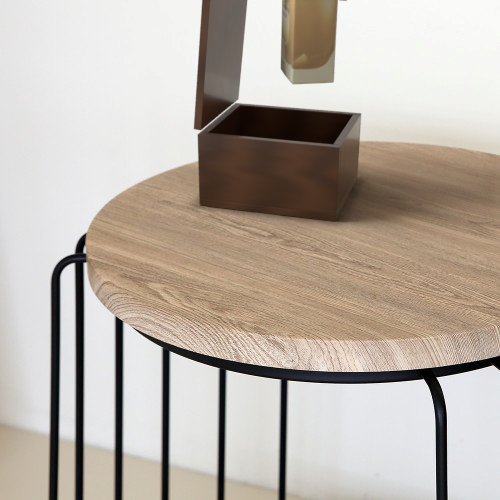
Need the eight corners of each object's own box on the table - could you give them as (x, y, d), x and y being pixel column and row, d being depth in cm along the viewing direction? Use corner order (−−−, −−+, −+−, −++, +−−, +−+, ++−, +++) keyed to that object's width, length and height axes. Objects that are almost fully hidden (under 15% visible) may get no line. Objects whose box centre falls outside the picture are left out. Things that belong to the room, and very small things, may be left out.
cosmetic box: (279, 70, 83) (280, -56, 77) (320, 68, 83) (324, -57, 78) (292, 86, 77) (294, -49, 71) (335, 84, 77) (341, -50, 72)
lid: (251, -43, 84) (206, -49, 85) (212, -29, 73) (161, -37, 75) (238, 99, 91) (197, 92, 92) (200, 130, 80) (155, 121, 82)
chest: (357, 179, 91) (361, 113, 88) (335, 221, 80) (339, 147, 77) (235, 166, 95) (235, 102, 92) (199, 205, 84) (197, 134, 81)
